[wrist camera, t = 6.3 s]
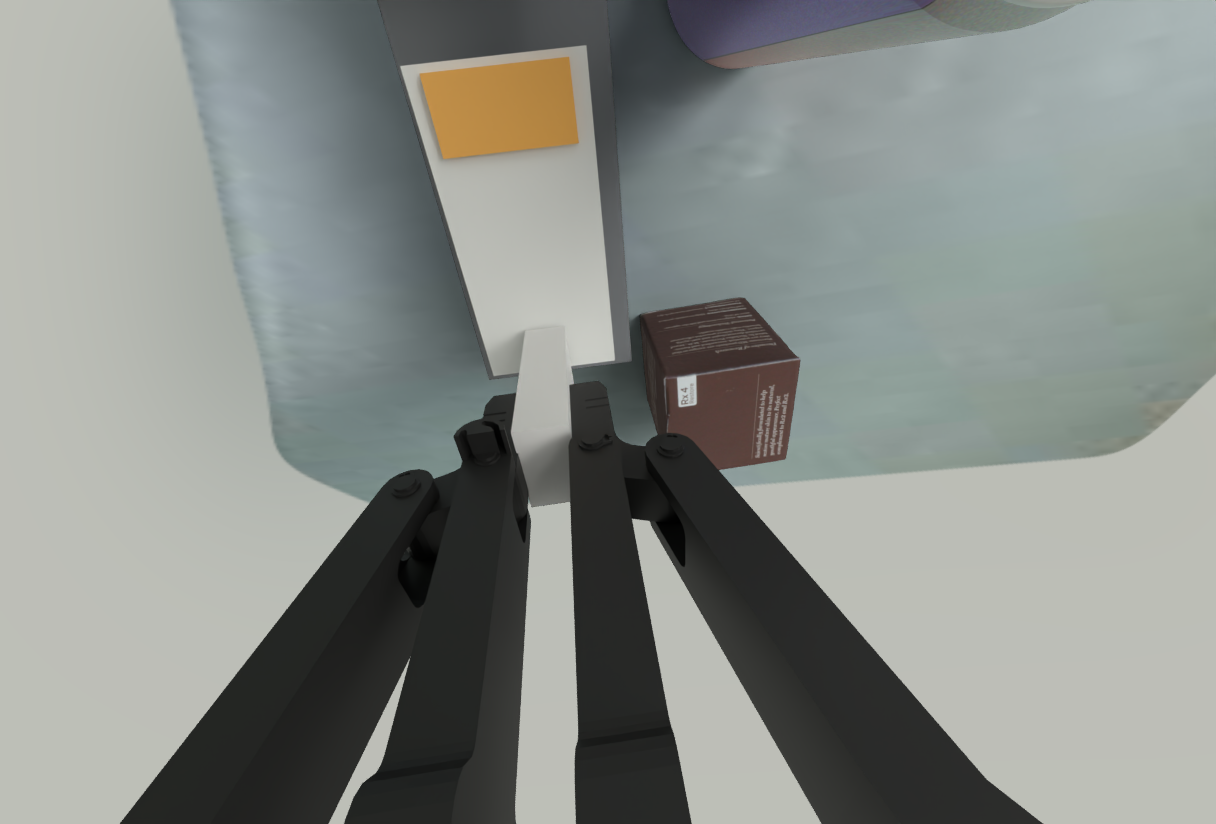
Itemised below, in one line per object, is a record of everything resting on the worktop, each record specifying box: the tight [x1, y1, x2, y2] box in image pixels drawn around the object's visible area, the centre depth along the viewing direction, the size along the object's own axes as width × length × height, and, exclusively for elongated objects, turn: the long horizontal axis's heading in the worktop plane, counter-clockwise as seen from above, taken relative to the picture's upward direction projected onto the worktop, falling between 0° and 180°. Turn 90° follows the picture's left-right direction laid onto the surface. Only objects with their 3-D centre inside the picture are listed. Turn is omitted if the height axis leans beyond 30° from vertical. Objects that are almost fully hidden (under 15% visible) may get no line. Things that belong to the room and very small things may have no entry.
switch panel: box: [377, 0, 632, 380], centre depth 15 cm, size 25×7×5 cm, turn 5°
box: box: [640, 297, 800, 470], centre depth 23 cm, size 6×6×7 cm
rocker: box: [400, 45, 615, 376], centre depth 16 cm, size 10×5×2 cm, turn 5°
